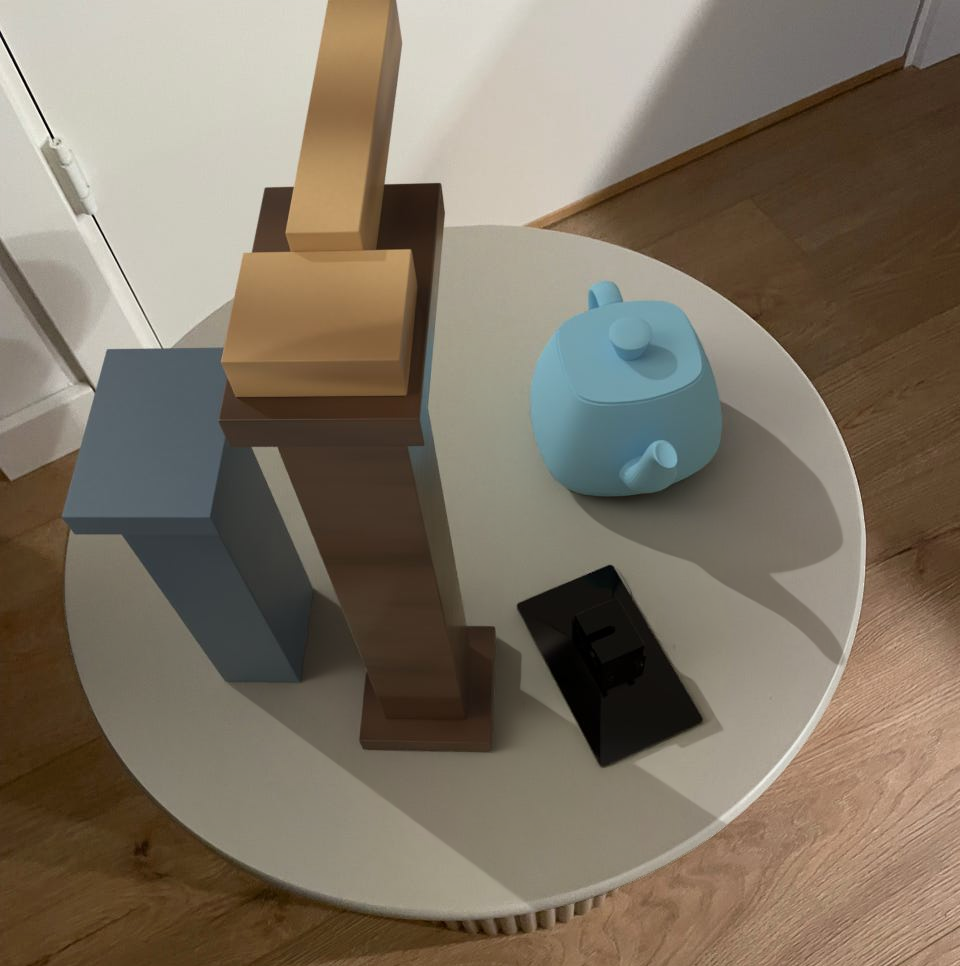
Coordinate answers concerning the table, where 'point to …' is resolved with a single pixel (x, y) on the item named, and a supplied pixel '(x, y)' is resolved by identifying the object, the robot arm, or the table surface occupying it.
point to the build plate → (608, 665)
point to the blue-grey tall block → (192, 510)
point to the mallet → (333, 237)
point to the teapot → (624, 398)
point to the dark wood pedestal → (384, 512)
